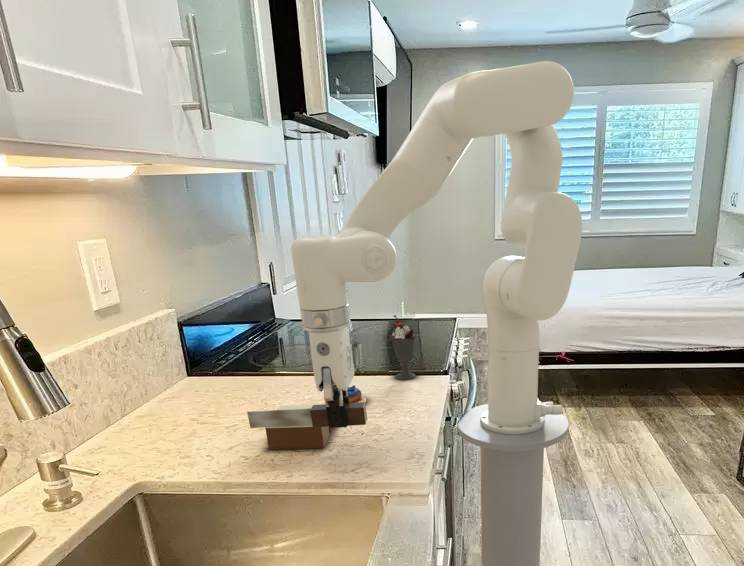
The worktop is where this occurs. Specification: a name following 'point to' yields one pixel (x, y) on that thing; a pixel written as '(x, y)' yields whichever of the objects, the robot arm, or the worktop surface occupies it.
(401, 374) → the sundae
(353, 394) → the dessert
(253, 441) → the worktop surface
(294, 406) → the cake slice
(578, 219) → the robot arm
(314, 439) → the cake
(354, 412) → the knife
